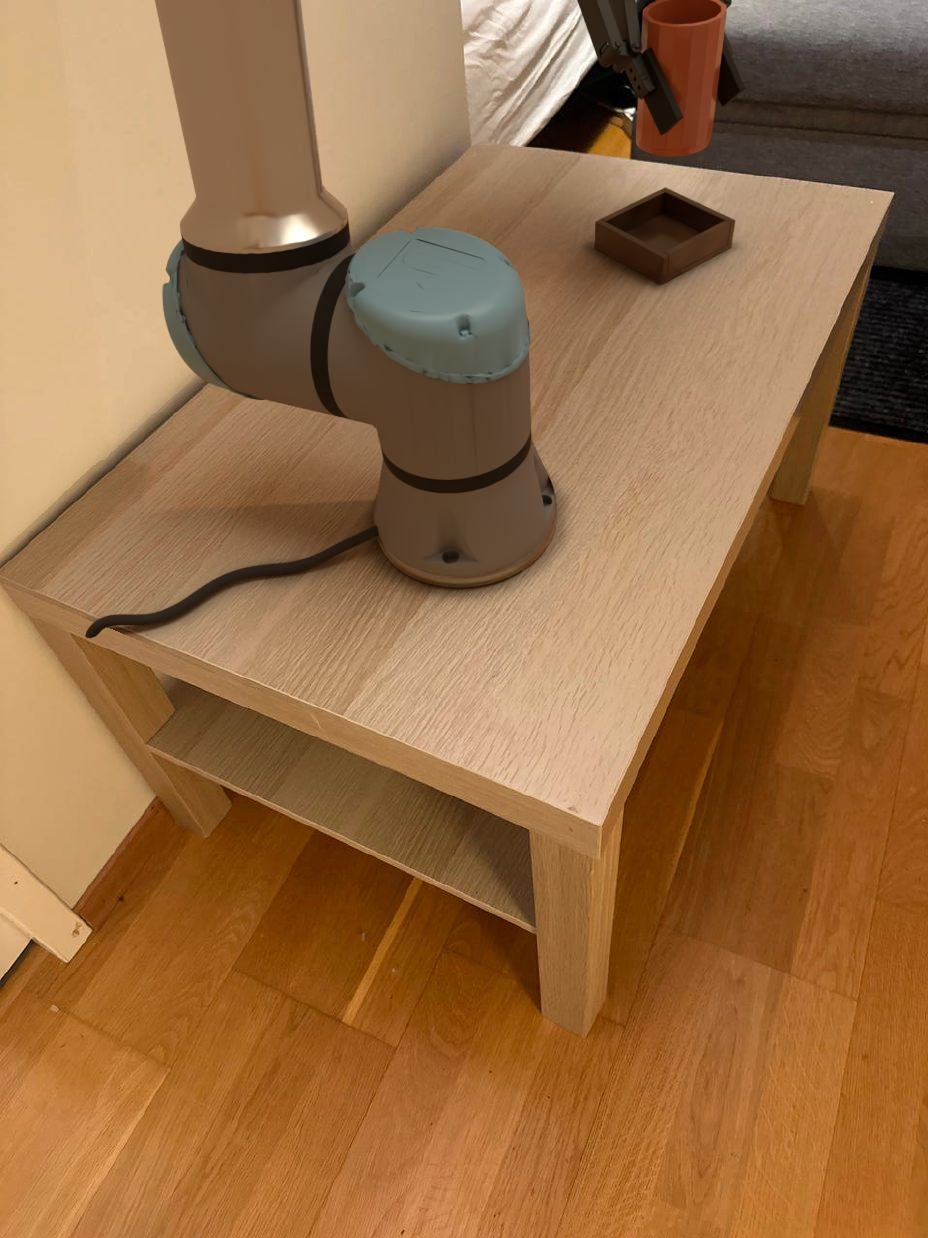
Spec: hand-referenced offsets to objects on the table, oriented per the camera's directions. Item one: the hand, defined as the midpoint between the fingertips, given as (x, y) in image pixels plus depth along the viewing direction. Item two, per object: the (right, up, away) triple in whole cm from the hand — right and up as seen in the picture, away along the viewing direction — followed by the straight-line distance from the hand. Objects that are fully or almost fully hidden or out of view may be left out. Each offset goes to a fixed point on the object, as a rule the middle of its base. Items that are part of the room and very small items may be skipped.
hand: (703, 111), depth 83 cm
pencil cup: (-2, 0, +5) cm, 5 cm away
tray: (0, -6, +16) cm, 18 cm away
